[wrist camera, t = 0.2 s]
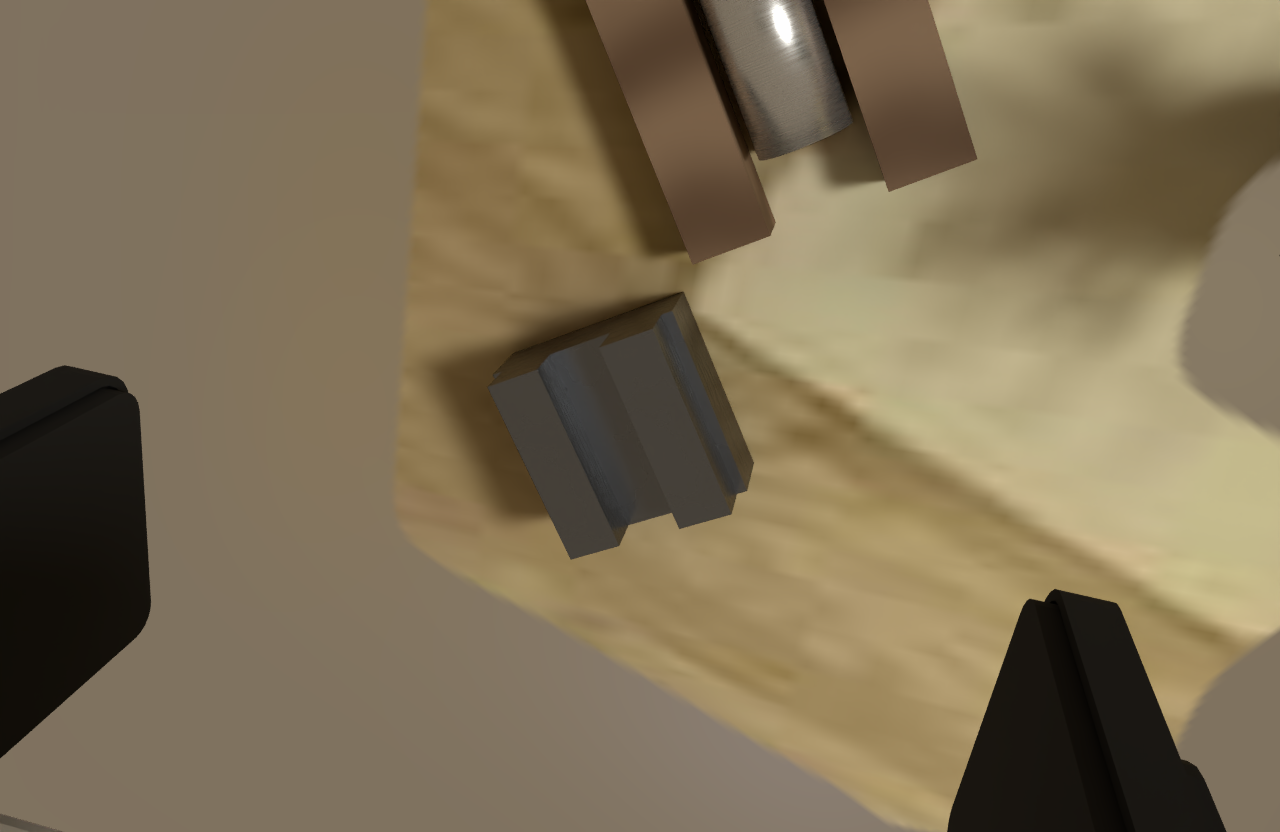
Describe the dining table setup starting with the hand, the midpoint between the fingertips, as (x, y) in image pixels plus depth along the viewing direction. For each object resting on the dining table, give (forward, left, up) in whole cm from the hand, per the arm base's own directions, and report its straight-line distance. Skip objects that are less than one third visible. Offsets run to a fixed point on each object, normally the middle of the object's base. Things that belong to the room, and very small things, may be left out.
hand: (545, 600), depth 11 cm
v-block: (+9, -11, -37) cm, 39 cm away
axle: (-5, +1, -37) cm, 37 cm away
